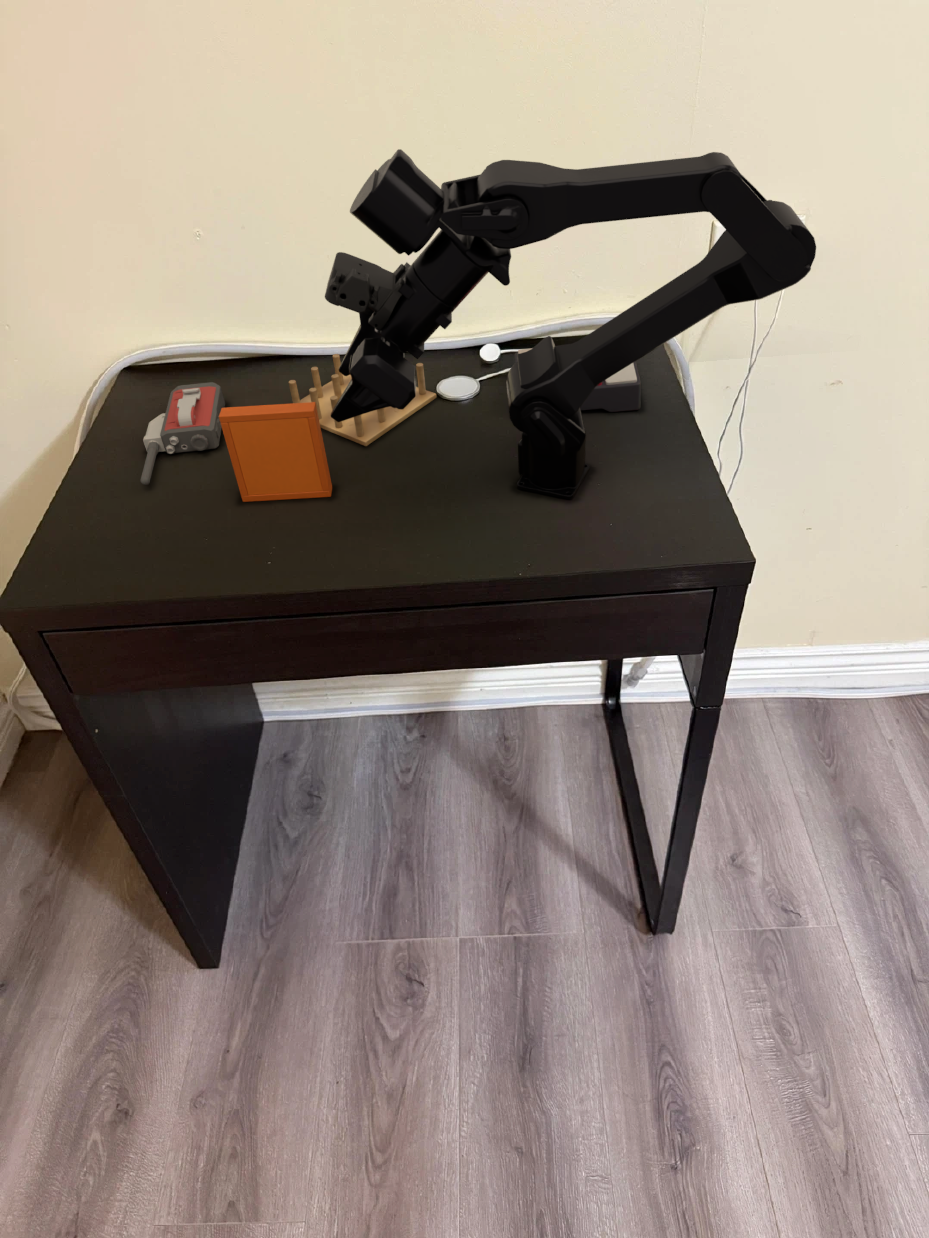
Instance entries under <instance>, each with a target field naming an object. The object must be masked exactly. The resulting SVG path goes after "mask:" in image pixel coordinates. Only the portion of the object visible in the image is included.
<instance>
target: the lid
mask: <svg viewBox="0 0 929 1238" xmlns="http://www.w3.org/2000/svg"><path fill="white" fill-rule="evenodd" d="M219 419H220V422H221V427H222V428H221V431H222V434H223V436H224V440H225V444H226V447H227V452H228V454H229V458H230V461H231V465H232V469H233V472H234V477H235V480H236V483H237V486H238V489H239V494H240V497H241V500H242V503H247V502H248V503H249V502H266V501H267V502H268V501H281V500H282V501H283V500H300V499H315V498H331V497H332V492H333V483H332V479H331V478H332V477H331V473H330V469H329V463H328V458H327V453H326V449H325V448H326V447H325V443H324V437H323V433H322V428H321V427H320V422H319V417H318V412H317V407H316V403H315V402H308V403H293V402H292V403H291V402H290V403H278V404H277V403H276V404H275V403H274V404H261V405H246V406H230V407H225V408H222V409H221V412H220V414H219Z"/></svg>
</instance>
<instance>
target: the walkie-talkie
mask: <svg viewBox="0 0 929 1238" xmlns="http://www.w3.org/2000/svg"><path fill="white" fill-rule="evenodd" d="M166 406H167V407H166V409H165V413H164V412H163V413H161V414H158V416H156V417H155V418H153V419H152V420H151V421H149V422H148V424H147V425H148V426H147V428H146V432H145V435H144V436H143V439H142V441H143V444H144V447H145V451H146V453H147V454H146V458H145V461H144V465H143V469H142V471H141V472H142V473H141V476H140V480H139V481H140V483H141V485H144V486H148V485H150V483H151V478H152V475H153V471H154V466H155V463H156V458H157V455H158V454H159V453H160V452H161V453H162V452H165V453H167V454H169V455H172V454H180V453H189V452H202V451H207V450H214V449H217V448H218V447H219V446H220V441H221V435H222V434H221V433H222V427H221V422H220V419H219V414H220V412H221V409H222V408H226V401H225V397H224V393H223V390H222V386H220V385H219V384H217V383H216V382H213V381H209V382H199V383H192V384H190V383H189V384H182V385H177V386H176V387H175V388H173V390H171V391H170V394H169V398H168V401H167V405H166Z"/></svg>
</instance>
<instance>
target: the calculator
mask: <svg viewBox="0 0 929 1238" xmlns="http://www.w3.org/2000/svg"><path fill="white" fill-rule="evenodd" d="M532 348H533V347H532ZM532 348H530V347H529V348H520V349H518V350H517V351H516V352H515V353H514V364H515V363H516V362H517V361H518V360H517V354H519V353H524V352H527V351H529V350H531V349H532ZM641 398H642V381H641V377H640V372H639V368H638V365H637V361H635V362H633V363H632V364H630V365H629V366H627V367H625V368H624V369H622V370H620V371H619V372H617V373H616V374H614V375H612V376H611V377H609V378H608V379H606V380H604V381H603V382H601V383H600V384H598V385H597V386H596V387H595V388H594V389H593V391H592V392H591V393H590V395H589V396H588V398H587V399H586V400H585V402H584V403H583V404H582V406H581V407H580V409H581V411H586V410H587V411H589V410H604V411H607V412H609V413H615V412H618V413H619V412H627V411H638V410H640V409H641V404H642V403H641V402H642V401H641V400H642V399H641Z"/></svg>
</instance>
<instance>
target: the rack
mask: <svg viewBox="0 0 929 1238" xmlns="http://www.w3.org/2000/svg"><path fill="white" fill-rule="evenodd" d="M332 362H333V366H334V374H332V375H331V377H330V378H331V381H329V382H327V383H325V384H323V386H322V382H321V377H320V370H319V367H318V366H312V367H311V368H310V371H311V378H312V383H313V387H311V388H309V389H308V392H309V394H307V395H306V396H304V397H303V398H300V394H299V390H298V385H297V381H296V380H295V379H290V380H289V381H288V387H289V391H290V396H291V401H292V403H308V402H315V403H316V407H317V412H318V417H319V422H320V427H321V430H322V429H323V430H324V431H327V432H329V433H332V434H335V435H337V436H338V437H339V436H340V437H342V438H345V439H347V440H349V441H352V442H355V443H357V444H359V445H361V446H364V447H368V446H369V445H370V444H371V443H374V441H376V440H377V439H379V438H380V437H381V436H382V437H383V435H385V434H386V433H387V432H390V430H392V429H394V428H395V427H396V426H398V425H399V424H401V423H402V422H404V421H405V420H406V419H408V418H409V417H411V416H412V415H413V414H415V413H417V412H418V411H420V410H421V409H422V408H424V407H425V406H427V405H428V404H429V403H431V402H433V401H434V400H435V399H437V393H435V392H432V391H430V390H427V389H426V379H425V369H424V363H422V362H418V363H416V364H415V370H416V380H417V386H416V397H415V398H414V399H413V400H412V401H411V402H410V403H409V404H408V405H407V406H406V407H405V408H404V409H398V408H393V407H391V406H390V407H386V408H382V409H378V410H374V411H371V412H368V413H365V414H362V415H359V416H356V417H353V418H350V419H347V420H344V421H341V422H337V421H336V420H334V419H333V418H331V412H332V411H333V409H334V407H335V405H336V404H337V402H338V400H339V399H340V397H341V395H342V394H343V392H344V390H345V389H346V387H347V386H348V384H349V382H350V381H351V379H352V378H351V375H348V376H344V375H343V374H341V373H340V372H339V367H340V365H341V363H342V361H341V357H340V354H339V353H335V354H332Z"/></svg>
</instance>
